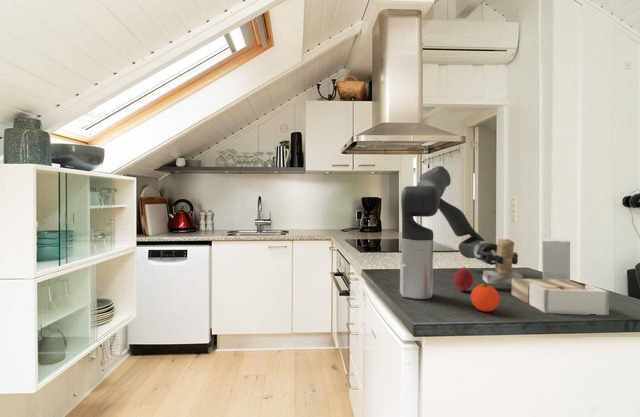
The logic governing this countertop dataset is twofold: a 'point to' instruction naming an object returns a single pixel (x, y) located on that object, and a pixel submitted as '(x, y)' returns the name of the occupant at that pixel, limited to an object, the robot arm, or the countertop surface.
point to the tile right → (572, 288)
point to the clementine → (485, 297)
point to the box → (570, 300)
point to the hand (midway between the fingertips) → (508, 260)
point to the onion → (463, 279)
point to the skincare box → (556, 259)
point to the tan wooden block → (522, 285)
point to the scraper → (503, 265)
